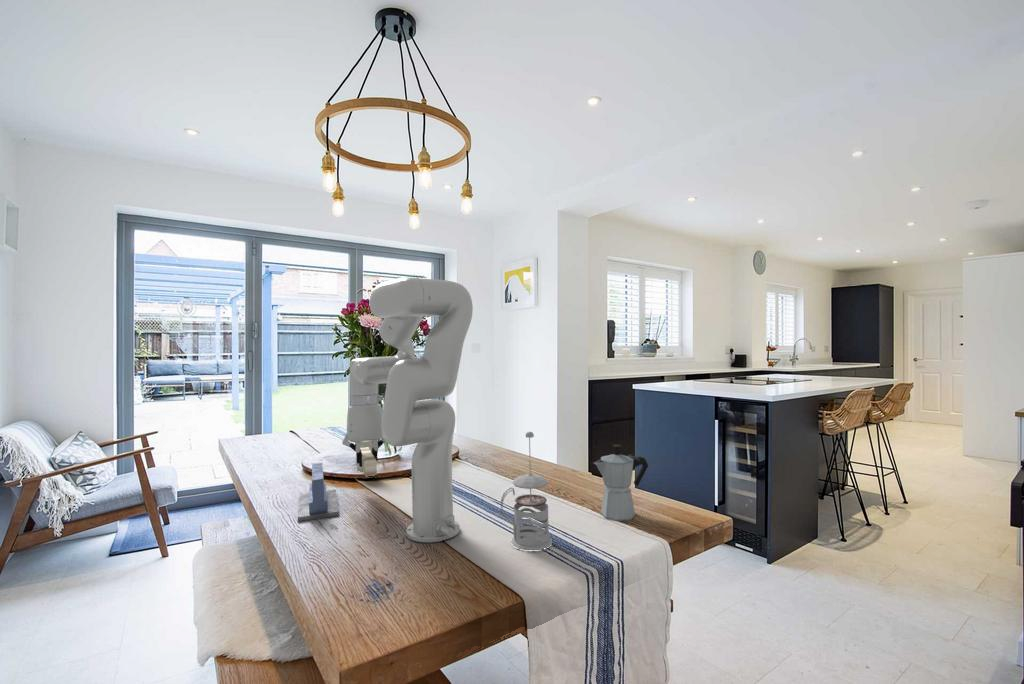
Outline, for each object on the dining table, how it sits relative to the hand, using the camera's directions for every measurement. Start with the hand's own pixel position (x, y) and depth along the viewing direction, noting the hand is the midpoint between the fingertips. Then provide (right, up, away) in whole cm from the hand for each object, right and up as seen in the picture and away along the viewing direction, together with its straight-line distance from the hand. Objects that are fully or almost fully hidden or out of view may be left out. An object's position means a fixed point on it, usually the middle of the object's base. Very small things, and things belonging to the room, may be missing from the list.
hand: (367, 464), depth 139 cm
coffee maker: (+70, -10, -14) cm, 72 cm away
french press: (+45, -10, -30) cm, 55 cm away
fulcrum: (-12, -11, -4) cm, 17 cm away
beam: (0, -1, 0) cm, 1 cm away
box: (-7, -11, +22) cm, 26 cm away
